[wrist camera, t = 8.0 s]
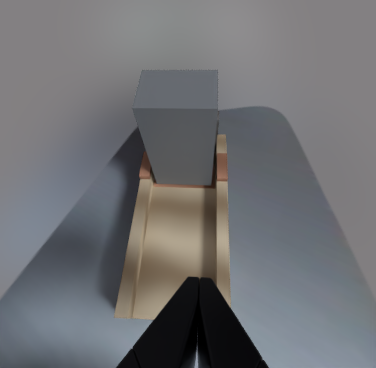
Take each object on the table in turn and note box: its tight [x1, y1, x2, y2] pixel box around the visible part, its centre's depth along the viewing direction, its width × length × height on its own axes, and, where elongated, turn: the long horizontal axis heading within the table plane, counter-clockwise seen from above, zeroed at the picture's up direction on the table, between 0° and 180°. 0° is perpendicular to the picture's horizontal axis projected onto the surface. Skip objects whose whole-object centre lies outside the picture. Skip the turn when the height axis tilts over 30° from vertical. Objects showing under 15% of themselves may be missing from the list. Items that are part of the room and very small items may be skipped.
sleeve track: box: [114, 111, 231, 320], centre depth 21 cm, size 18×9×6 cm, turn 177°
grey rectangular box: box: [132, 70, 218, 185], centre depth 20 cm, size 4×6×10 cm
